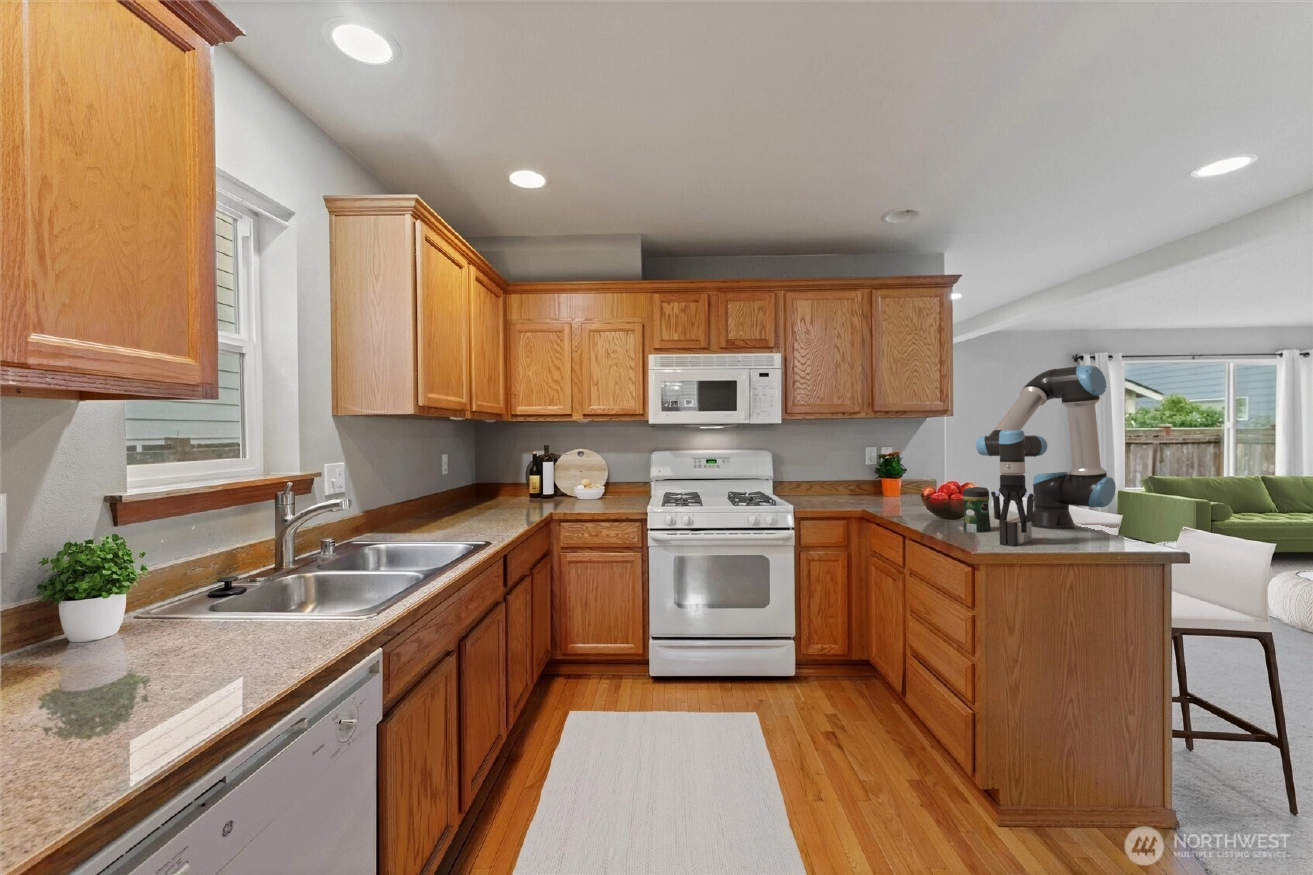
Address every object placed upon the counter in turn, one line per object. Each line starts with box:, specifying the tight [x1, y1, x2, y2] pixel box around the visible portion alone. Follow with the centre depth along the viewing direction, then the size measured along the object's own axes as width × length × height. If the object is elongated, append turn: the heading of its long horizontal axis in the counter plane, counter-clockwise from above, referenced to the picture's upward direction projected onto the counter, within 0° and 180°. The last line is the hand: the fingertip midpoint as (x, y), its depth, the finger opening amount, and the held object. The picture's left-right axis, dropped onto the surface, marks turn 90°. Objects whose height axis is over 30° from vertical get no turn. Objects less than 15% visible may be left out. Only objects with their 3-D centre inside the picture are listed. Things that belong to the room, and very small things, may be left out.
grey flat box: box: [1007, 519, 1033, 547], centre depth 196 cm, size 18×3×9 cm, turn 126°
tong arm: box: [998, 516, 1020, 546], centre depth 198 cm, size 16×2×8 cm, turn 128°
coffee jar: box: [962, 486, 992, 534], centre depth 222 cm, size 10×8×19 cm
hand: (1013, 540), depth 195 cm, fingers open, 4 cm apart
